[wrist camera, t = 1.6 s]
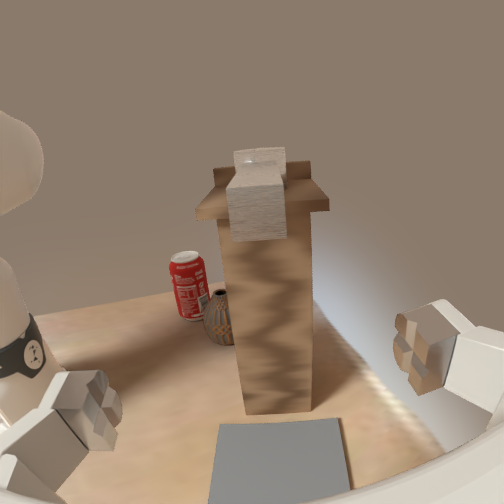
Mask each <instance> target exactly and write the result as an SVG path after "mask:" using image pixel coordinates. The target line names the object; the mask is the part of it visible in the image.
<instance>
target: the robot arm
mask: <svg viewBox="0 0 504 504" xmlns="http://www.w3.org/2000/svg"><path fill="white" fill-rule="evenodd" d="M43 168H44V157H43V151H42V147H41V144H40V141H39V139H38V137H37V135H36V134H35V133H34V131H33V130H32V129H31V128H30V127H29V126H28V125H27V124H25V123H24V122H22V121H19V120H17V119H15V118H12V117H11V116H9V115H7V114H5V113H4V112H3V111H1V110H0V215H3V214H5V213H7V212H8V211H10V210H12V209H14V208H15V207H17V206H19V205H21V204H22V203H24V202H26V201H28V200H29V199H31V198H33V197H34V195H35V193H36V192H37V189H38V187H39V185H40V182H41V179H42V175H43ZM395 327H396V329H397V330H398V331H399V332H398V334H397V336H396V337H395V338H394V344H393V350H394V356H395V359H396V362H397V364H398V366H399V367H400V369H401V370H402V371H404V372H407V373H409V378H408V381H409V383H410V384H411V386H412V387H413V389H414V390H415V392H416V393H417V395H418V396H420V395H422V394H425V393H428V392H431V391H433V390H436V389H438V388H441V387H443V386H444V388H446V389H447V390H449V391H451V392H453V393H455V394H457V395H458V396H460V397H462V398H464V399H466V400H468V401H470V402H472V403H473V404H475V405H477V406H479V407H481V408H483V409H485V410H487V411H489V412H491V413H492V414H493V415H492V417H491V419H490V421H489V423H488V425H487V427H486V430H485V431H486V432H485V433H483V434H481V435H480V436H478V437H476V438H474V439H472V440H471V441H469V442H467V443H466V444H463V445H461V446H459V447H458V448H456V449H454V450H452V451H450V452H448V453H446V454H443V455H441V456H439V457H437V458H435V459H433V460H431V461H428V462H426V463H424V464H422V465H419V466H417V467H415V468H412V469H410V470H407V471H405V472H402V473H400V474H397V475H394V476H392V477H389V478H386V479H384V480H381V481H378V482H375V483H372V484H369V485H366V486H363V487H360V488H356V489H353V490H350V491H346V492H343V493H339V494H335V495H331V496H328V497H324V498H319V499H315V500H311V501H306V502H302V503H297V504H504V333H503V332H500V331H496V330H492V329H489V328H486V327H482V326H478V327H475V326H474V325H473V324H472V323H471V322H469V320H467V319H466V318H465V317H464V316H463V315H462V314H461V313H460V312H459V311H458V310H456V308H454V307H453V306H452V305H451V304H450V303H449V302H448V301H447V300H444V299H441V300H438V301H435V302H432V303H430V304H428V305H425V306H422V307H419V308H416V309H412V310H410V311H406V312H403V313H400V314H398V315H397V317H396V321H395ZM109 381H110V380H109V378H108V377H107V375H106V373H105V372H104V371H102V370H86V371H66V369H65V368H64V367H60V365H59V364H58V362H57V360H56V359H55V357H54V355H53V354H52V352H51V350H50V349H49V347H48V345H47V344H46V342H45V340H44V339H42V336H41V334H40V332H39V329H38V325H37V323H36V322H35V321H34V318H33V316H32V315H31V314H30V313H28V311H27V308H26V306H25V303H24V301H23V298H22V295H21V292H20V290H19V287H18V284H17V281H16V278H15V275H14V272H13V270H12V268H11V267H10V265H9V264H8V263H7V262H6V261H5V260H4V259H3V258H1V257H0V504H67V503H66V502H65V500H63V499H62V498H61V497H60V496H58V495H57V494H56V493H55V492H56V491H57V490H58V489H59V487H60V486H61V485H62V484H63V483H64V481H65V480H66V479H67V478H68V477H69V476H70V474H71V473H72V472H73V471H74V470H75V468H76V467H77V466H78V465H79V464H80V462H81V461H82V460H83V459H84V458H85V457H86V455H87V454H88V453H89V451H114V447H115V443H116V439H117V435H118V433H117V431H116V429H115V427H116V426H117V425H118V424H119V423H120V422H121V419H122V414H123V413H122V403H121V400H120V397H119V396H118V394H117V392H116V391H115V390H113V389H112V388H110V387H109V386H108V385H109Z"/></svg>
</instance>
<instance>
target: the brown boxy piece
mask: <svg viewBox="0 0 504 504" xmlns="http://www.w3.org/2000/svg"><path fill="white" fill-rule="evenodd" d="M213 172H214V181H215V187H214V188H213V189H212V190H211V192H210V193H209V194H208V195H207V196H206V197H205V198H204V200H203V201H202V202H201V203H200V204H199V205H198V207H197V208H196V209H195V212H196V218H197V221H201V220H212V219H217V226H218V234H219V241H220V249H221V256H222V264H223V271H224V278H225V285H226V292H227V299H228V305H229V312H230V319H231V325H232V332H233V338H234V345H235V351H236V357H237V364H238V370H239V376H240V382H241V388H242V394H243V400H244V406H245V411H246V415H262V414H282V413H297V412H309V411H311V393H312V347H313V296H312V294H313V293H312V248H311V219H310V212H317V211H329V198H328V197H327V196H326V195H325V194H324V192H323V191H322V190H321V189H320V188H319V187H318V186H317V185H316V183H315V182H314V181H313V180H312V179H311V165H310V161H292V162H286V172H287V185H288V188H287V189H285V190H284V200H285V215H286V230H287V238H284V239H270V240H257V241H243V242H232V237H231V229H230V220H229V212H228V203H227V194H226V188H227V186H228V185H229V183H230V182H231V180H232V179H233V177H234V176H235V174H236V171H235V166H231V167H221V168H214V169H213Z"/></svg>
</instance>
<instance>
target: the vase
mask: <svg viewBox="0 0 504 504" xmlns="http://www.w3.org/2000/svg"><path fill="white" fill-rule="evenodd" d="M203 322H204V327H205V330H206V332H207V334H208V336H209V337H210V338H211V339H212V340H213V341H214V342H216V343H218V344H221V345H231V344H234V338H233V332H232V325H231V319H230V312H229V305H228V299H227V292H226V289H218V290H216V291H214V292H213V295H212V298H211V300H210V301H209V302H208V304H207V306H206V308H205V310H204V316H203Z"/></svg>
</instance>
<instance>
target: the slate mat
mask: <svg viewBox="0 0 504 504" xmlns="http://www.w3.org/2000/svg"><path fill="white" fill-rule="evenodd" d="M346 491H350V485H349V479H348V473H347V467H346V461H345V456H344V450H343V445H342V439H341V434H340V429H339V423H338V418H330V419H321V420H311V421H299V422H284V423H264V424H220V425H219V432H218V439H217V445H216V452H215V459H214V465H213V472H212V479H211V485H210V492H209V499H208V504H297V503H302V502H306V501H311V500H315V499H319V498H324V497H328V496H331V495H335V494H339V493H343V492H346Z"/></svg>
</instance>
